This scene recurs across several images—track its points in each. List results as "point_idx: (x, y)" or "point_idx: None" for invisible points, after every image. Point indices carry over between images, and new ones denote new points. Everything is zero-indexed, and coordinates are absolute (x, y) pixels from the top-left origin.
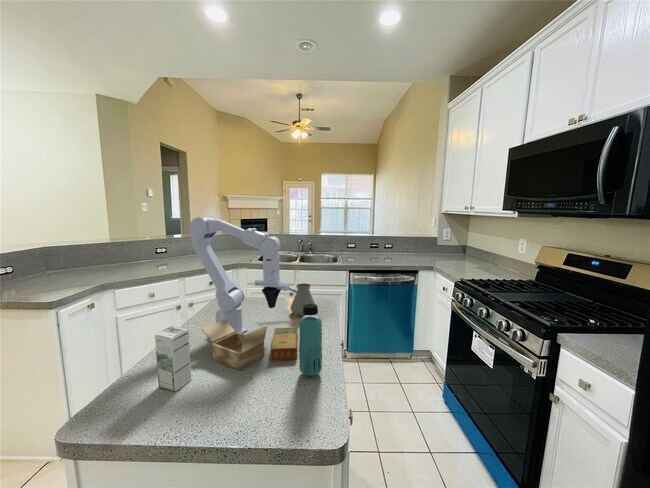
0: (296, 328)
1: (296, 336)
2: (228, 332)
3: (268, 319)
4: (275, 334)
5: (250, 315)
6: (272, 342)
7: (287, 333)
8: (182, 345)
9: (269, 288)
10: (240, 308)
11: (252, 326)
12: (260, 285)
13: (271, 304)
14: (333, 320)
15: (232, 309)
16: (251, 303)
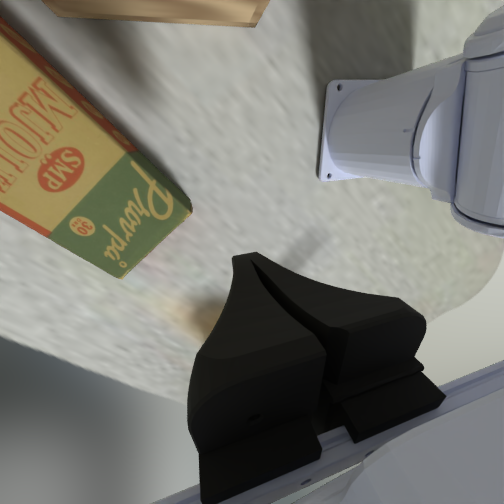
0: (110, 271)
1: (6, 211)
2: None
3: (313, 278)
4: (119, 159)
5: (375, 261)
6: (14, 50)
7: (80, 206)
8: None
9: (339, 404)
10: (419, 150)
11: (324, 214)
12: (498, 369)
13: (234, 268)
14: (151, 391)
15: (465, 45)
16: (412, 306)
